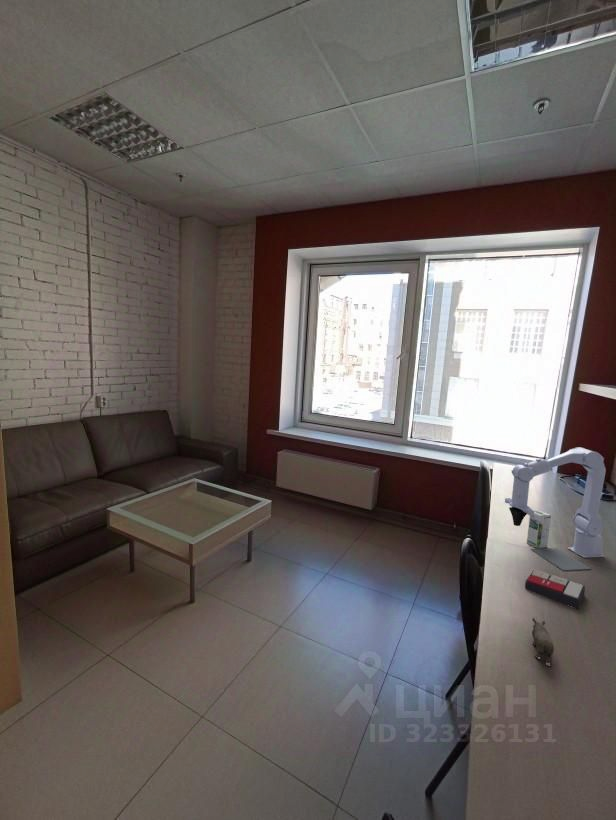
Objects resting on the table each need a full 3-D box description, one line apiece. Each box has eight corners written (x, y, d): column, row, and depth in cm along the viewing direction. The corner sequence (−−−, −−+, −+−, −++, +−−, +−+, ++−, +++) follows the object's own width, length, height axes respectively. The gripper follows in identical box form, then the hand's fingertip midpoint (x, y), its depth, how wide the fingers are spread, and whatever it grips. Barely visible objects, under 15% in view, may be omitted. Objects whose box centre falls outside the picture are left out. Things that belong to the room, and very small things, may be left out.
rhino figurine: (543, 633, 103) (545, 613, 102) (554, 669, 90) (557, 647, 90) (526, 628, 105) (529, 609, 104) (535, 663, 92) (538, 641, 91)
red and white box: (533, 567, 132) (585, 583, 121) (533, 579, 132) (584, 596, 122) (525, 579, 124) (579, 597, 114) (524, 591, 124) (578, 610, 114)
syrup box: (525, 542, 159) (529, 511, 157) (535, 541, 161) (538, 509, 159) (538, 549, 153) (542, 516, 152) (548, 547, 156) (551, 514, 154)
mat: (556, 548, 154) (556, 548, 154) (590, 569, 138) (591, 568, 138) (531, 549, 152) (531, 549, 152) (563, 570, 137) (563, 569, 137)
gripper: (499, 488, 158) (497, 518, 159) (524, 500, 144) (520, 533, 145) (514, 488, 159) (511, 518, 160) (540, 500, 145) (536, 532, 146)
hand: (516, 525), depth 153 cm, fingers closed
